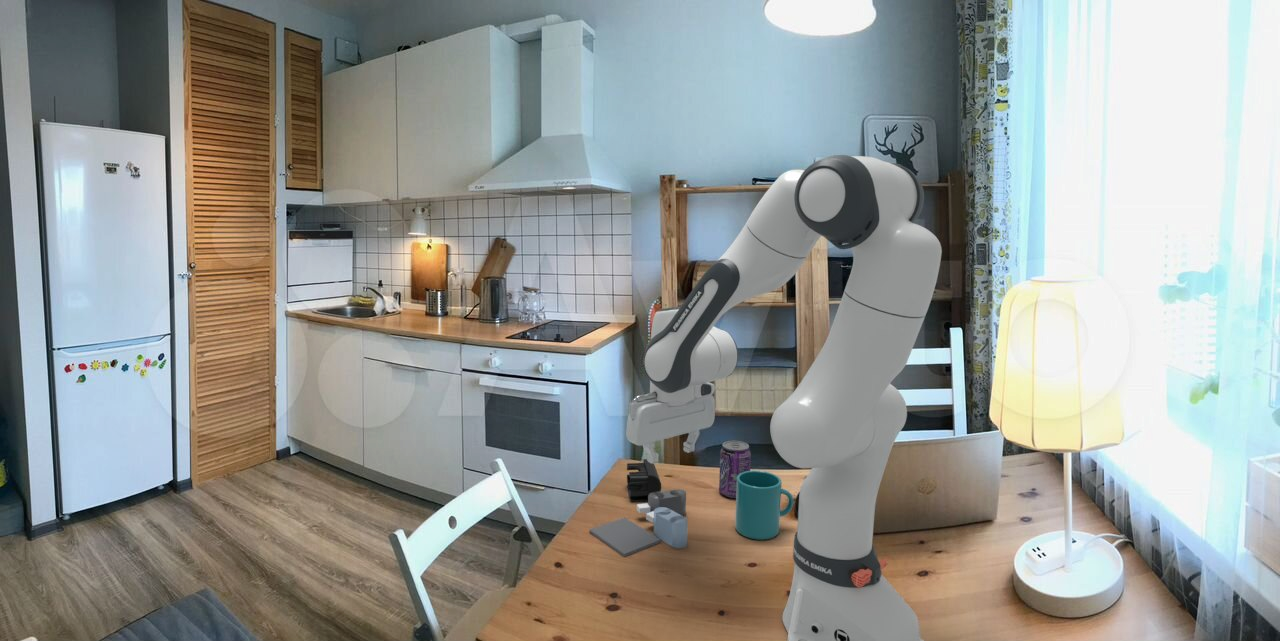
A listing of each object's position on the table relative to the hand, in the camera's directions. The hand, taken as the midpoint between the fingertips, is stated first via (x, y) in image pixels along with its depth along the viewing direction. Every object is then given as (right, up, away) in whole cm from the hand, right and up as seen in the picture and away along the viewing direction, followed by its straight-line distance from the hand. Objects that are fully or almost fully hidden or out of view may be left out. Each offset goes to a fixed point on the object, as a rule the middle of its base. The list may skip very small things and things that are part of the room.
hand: (671, 456), depth 121 cm
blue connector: (-1, -17, +3) cm, 17 cm away
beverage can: (+16, -14, +24) cm, 32 cm away
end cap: (-5, -14, +24) cm, 28 cm away
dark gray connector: (-1, -16, +12) cm, 20 cm away
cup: (+20, -17, +6) cm, 27 cm away
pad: (-9, -17, +3) cm, 20 cm away
